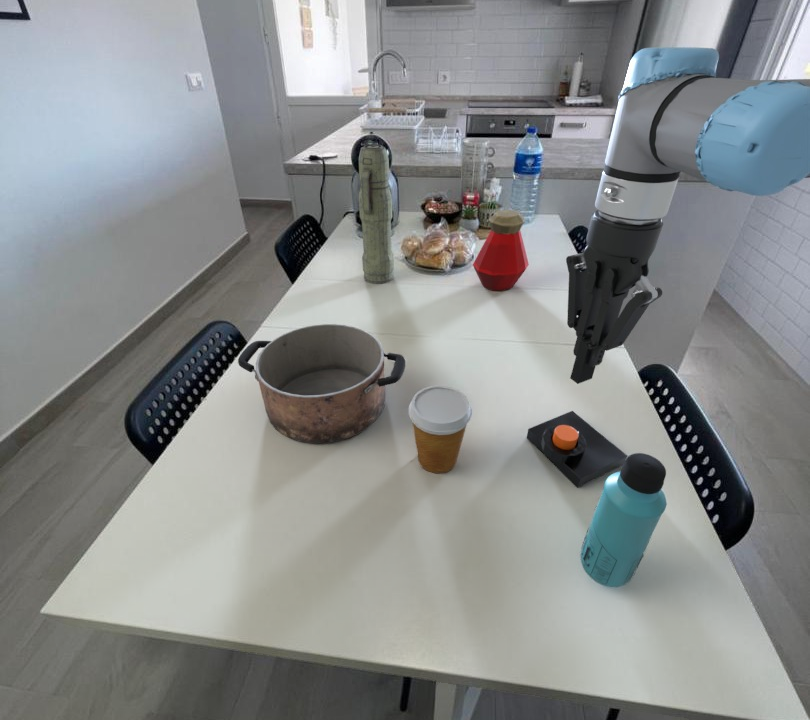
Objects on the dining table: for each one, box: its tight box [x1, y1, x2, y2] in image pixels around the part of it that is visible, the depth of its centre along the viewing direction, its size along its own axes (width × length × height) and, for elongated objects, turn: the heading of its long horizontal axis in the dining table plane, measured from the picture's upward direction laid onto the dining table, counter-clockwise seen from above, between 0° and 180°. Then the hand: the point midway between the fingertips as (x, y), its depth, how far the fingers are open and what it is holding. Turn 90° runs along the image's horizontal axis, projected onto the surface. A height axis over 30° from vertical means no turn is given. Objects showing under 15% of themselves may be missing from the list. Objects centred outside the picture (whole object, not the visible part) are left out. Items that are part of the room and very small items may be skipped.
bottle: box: [472, 209, 529, 292], centre depth 120 cm, size 16×14×20 cm
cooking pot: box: [237, 323, 406, 444], centre depth 82 cm, size 30×22×11 cm
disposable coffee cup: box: [407, 384, 473, 474], centre depth 70 cm, size 10×10×12 cm
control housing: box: [526, 410, 628, 489], centre depth 73 cm, size 12×11×4 cm
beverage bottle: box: [579, 452, 667, 589], centre depth 52 cm, size 6×7×20 cm
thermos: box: [358, 143, 395, 285], centre depth 120 cm, size 9×12×35 cm
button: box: [552, 425, 578, 450], centre depth 71 cm, size 4×4×2 cm
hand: (581, 378), depth 64 cm, fingers closed
